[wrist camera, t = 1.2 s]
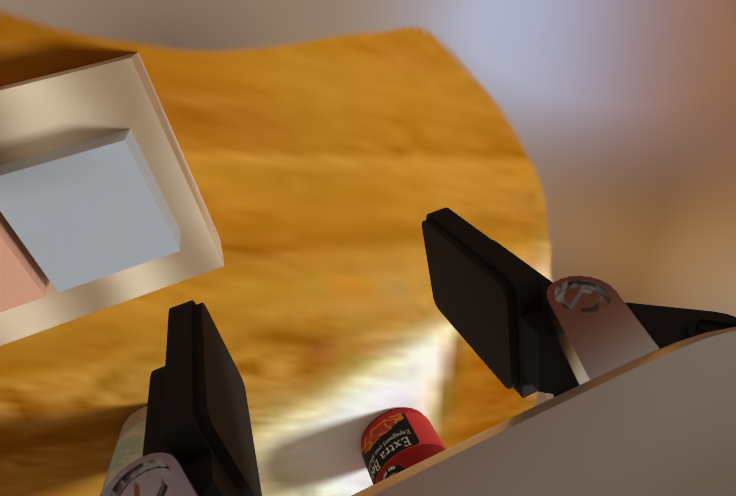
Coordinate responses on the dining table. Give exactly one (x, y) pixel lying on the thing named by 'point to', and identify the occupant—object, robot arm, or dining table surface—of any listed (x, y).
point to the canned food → (398, 443)
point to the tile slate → (88, 209)
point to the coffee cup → (128, 444)
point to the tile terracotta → (18, 271)
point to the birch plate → (86, 122)
